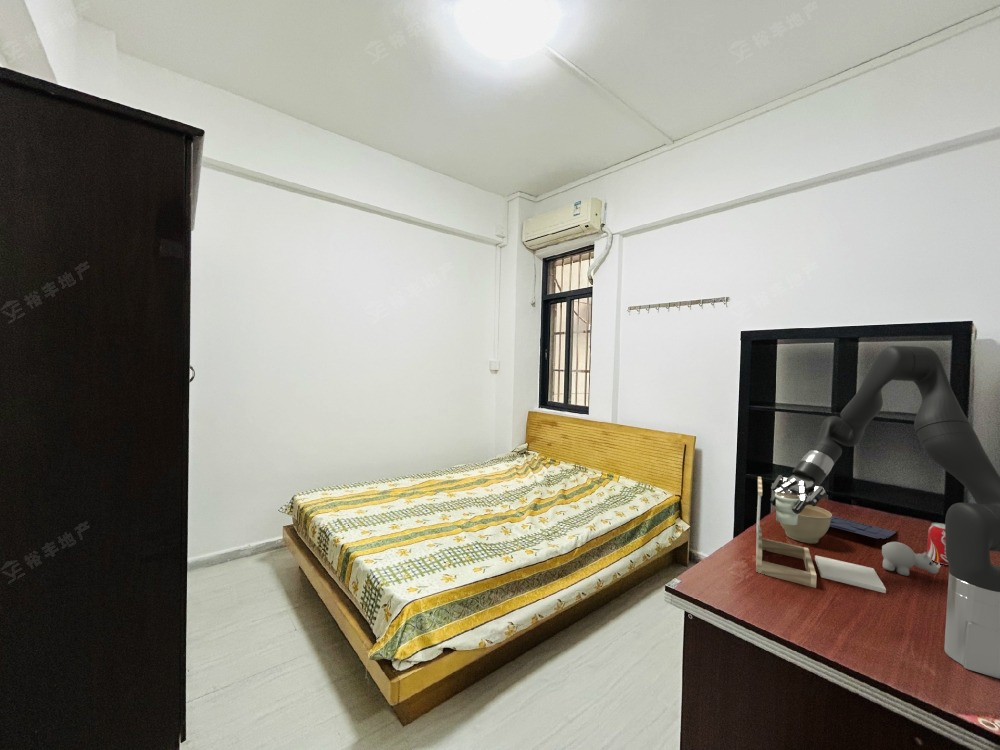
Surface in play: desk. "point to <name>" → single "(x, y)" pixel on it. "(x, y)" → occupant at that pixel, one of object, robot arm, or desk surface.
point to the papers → (860, 528)
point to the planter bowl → (809, 525)
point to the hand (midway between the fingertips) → (783, 507)
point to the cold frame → (785, 549)
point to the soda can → (937, 543)
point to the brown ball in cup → (786, 508)
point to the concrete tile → (849, 573)
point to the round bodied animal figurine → (905, 559)
